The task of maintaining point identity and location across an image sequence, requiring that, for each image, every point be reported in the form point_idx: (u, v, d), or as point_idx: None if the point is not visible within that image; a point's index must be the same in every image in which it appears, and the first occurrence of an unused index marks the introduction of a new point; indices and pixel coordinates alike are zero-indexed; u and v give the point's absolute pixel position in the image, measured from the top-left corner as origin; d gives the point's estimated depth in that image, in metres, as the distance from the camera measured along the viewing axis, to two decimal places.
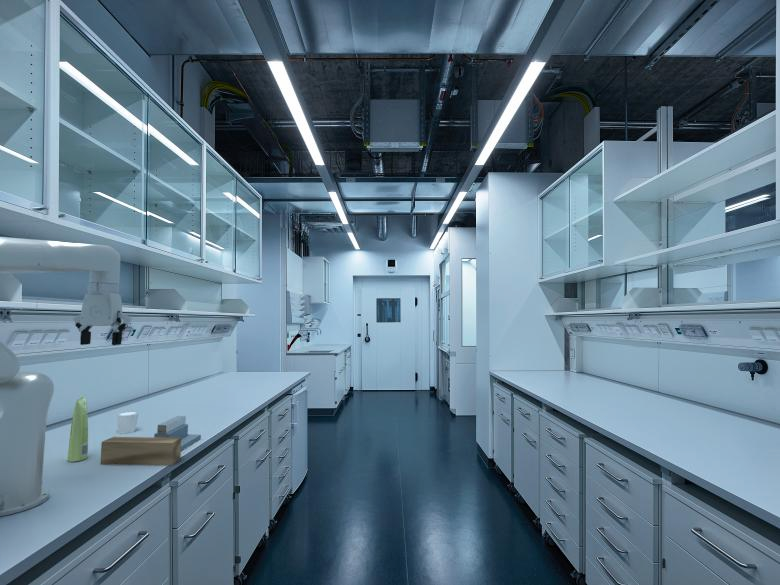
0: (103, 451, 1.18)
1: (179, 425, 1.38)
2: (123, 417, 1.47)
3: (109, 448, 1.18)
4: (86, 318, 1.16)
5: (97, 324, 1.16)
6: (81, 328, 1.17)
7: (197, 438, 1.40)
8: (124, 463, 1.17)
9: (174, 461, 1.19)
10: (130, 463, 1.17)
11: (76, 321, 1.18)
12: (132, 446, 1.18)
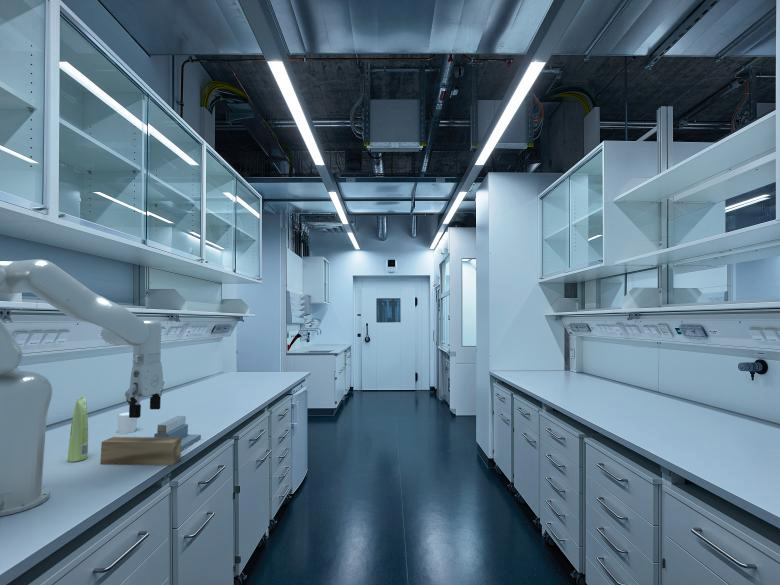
0: (103, 451, 1.18)
1: (179, 425, 1.38)
2: (123, 417, 1.47)
3: (109, 448, 1.18)
4: (149, 389, 1.19)
5: (155, 392, 1.22)
6: (138, 401, 1.16)
7: (197, 438, 1.40)
8: (124, 463, 1.17)
9: (174, 461, 1.19)
10: (130, 463, 1.17)
11: (131, 395, 1.14)
12: (132, 446, 1.18)
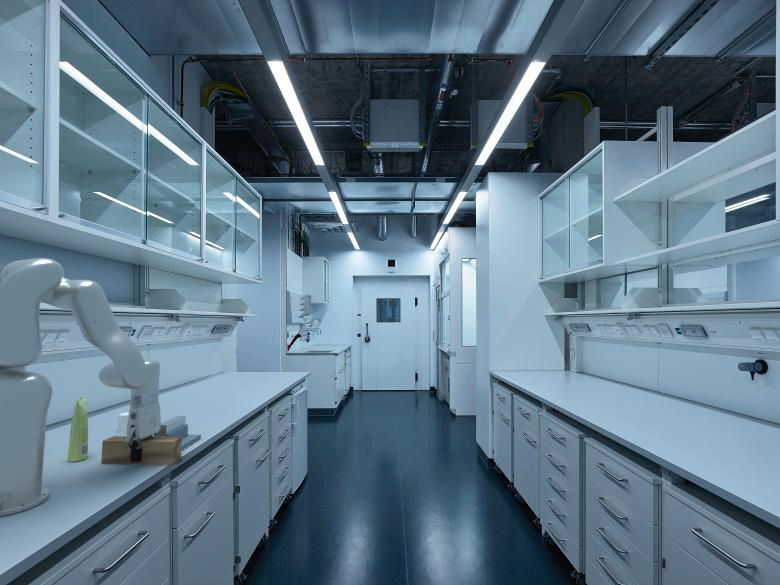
0: (104, 450, 1.18)
1: (179, 425, 1.38)
2: (123, 417, 1.47)
3: (110, 447, 1.18)
4: (146, 431, 1.18)
5: (153, 433, 1.21)
6: (139, 445, 1.17)
7: (197, 438, 1.40)
8: (125, 462, 1.18)
9: (175, 460, 1.19)
10: (131, 462, 1.18)
11: (131, 442, 1.15)
12: None
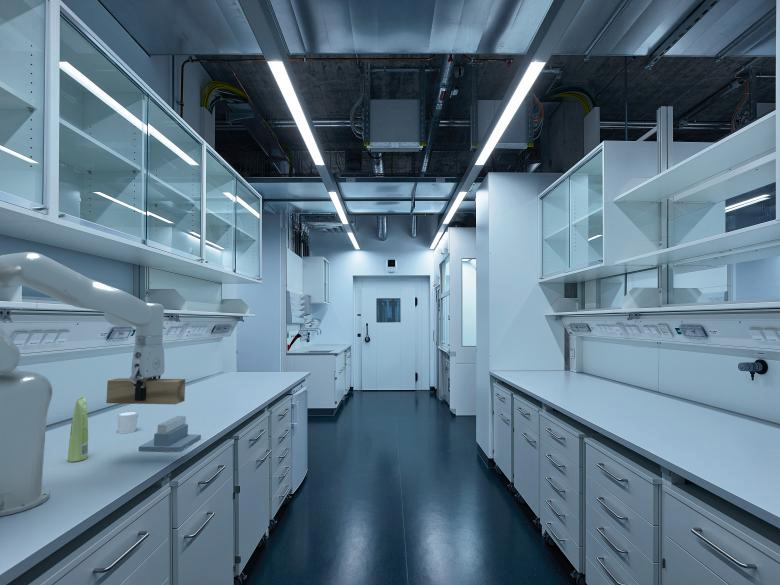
0: (109, 390, 1.20)
1: (179, 425, 1.38)
2: (123, 417, 1.47)
3: (115, 387, 1.20)
4: (150, 371, 1.20)
5: (157, 375, 1.23)
6: (144, 384, 1.19)
7: (197, 438, 1.40)
8: (129, 401, 1.19)
9: (178, 400, 1.21)
10: (135, 401, 1.19)
11: (136, 379, 1.16)
12: None
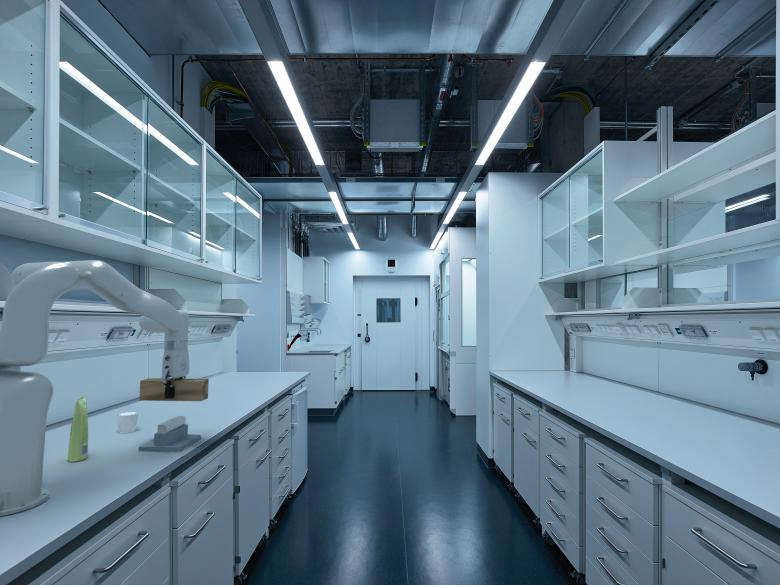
0: (142, 388, 1.35)
1: (179, 425, 1.38)
2: (123, 417, 1.47)
3: (147, 386, 1.35)
4: (178, 372, 1.35)
5: (183, 375, 1.38)
6: (173, 384, 1.34)
7: (197, 438, 1.40)
8: (160, 399, 1.35)
9: (203, 398, 1.36)
10: (165, 399, 1.35)
11: (166, 380, 1.32)
12: None
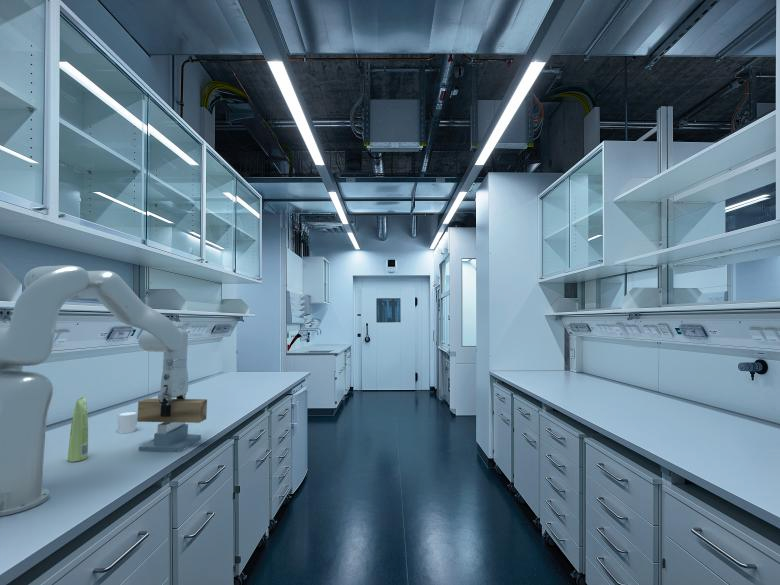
0: (140, 409, 1.34)
1: (179, 425, 1.38)
2: (123, 417, 1.47)
3: (145, 407, 1.34)
4: (177, 390, 1.34)
5: (182, 394, 1.38)
6: (169, 402, 1.32)
7: (197, 438, 1.40)
8: (158, 420, 1.34)
9: (201, 419, 1.35)
10: (163, 420, 1.34)
11: (163, 397, 1.30)
12: None
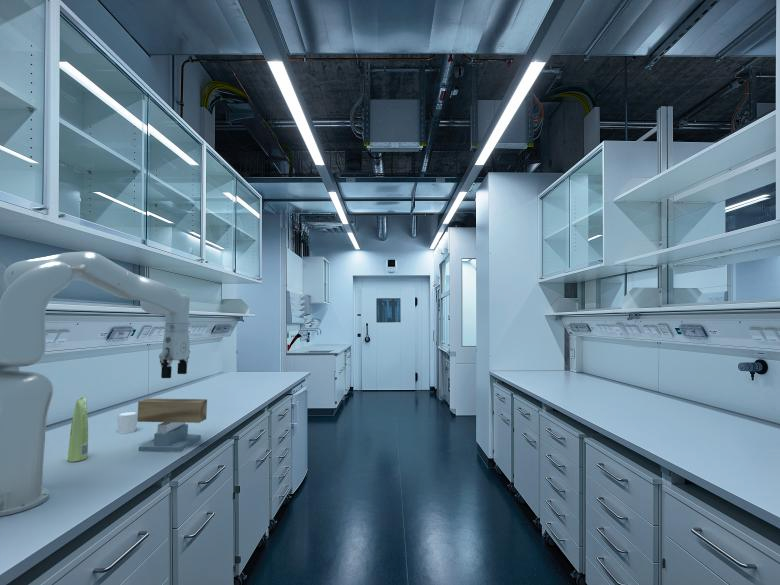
0: (140, 409, 1.34)
1: (179, 425, 1.38)
2: (123, 417, 1.47)
3: (145, 407, 1.34)
4: (178, 354, 1.35)
5: (183, 358, 1.38)
6: (169, 363, 1.32)
7: (197, 438, 1.40)
8: (158, 420, 1.34)
9: (201, 419, 1.35)
10: (163, 420, 1.34)
11: (164, 357, 1.30)
12: (165, 405, 1.34)
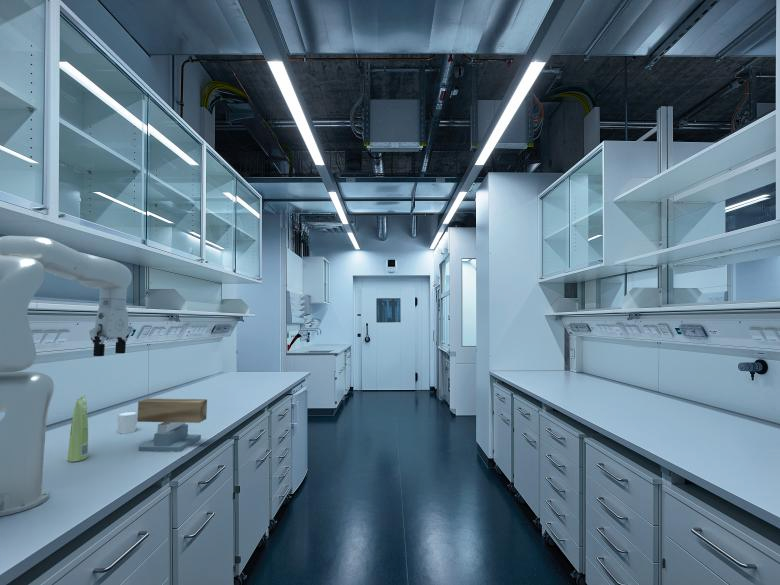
0: (140, 409, 1.34)
1: (179, 425, 1.38)
2: (123, 417, 1.47)
3: (145, 407, 1.34)
4: (113, 331, 1.28)
5: (120, 336, 1.31)
6: (102, 341, 1.25)
7: (197, 438, 1.40)
8: (158, 420, 1.34)
9: (201, 419, 1.35)
10: (163, 420, 1.34)
11: (95, 334, 1.23)
12: (165, 405, 1.34)
